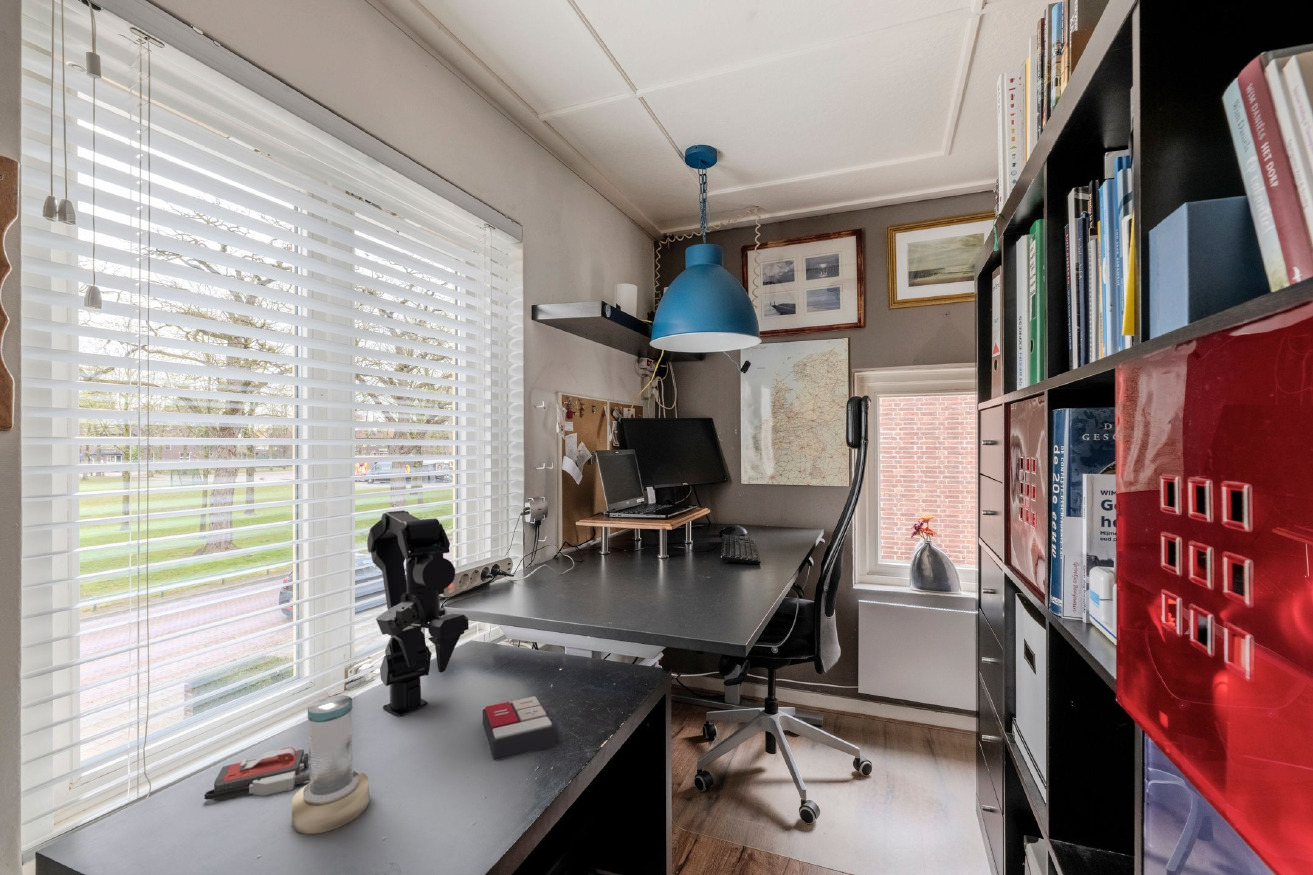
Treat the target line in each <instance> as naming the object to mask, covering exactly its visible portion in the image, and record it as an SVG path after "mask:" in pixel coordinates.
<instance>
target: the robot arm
mask: <svg viewBox="0 0 1313 875" xmlns="http://www.w3.org/2000/svg"><path fill="white" fill-rule="evenodd" d="M443 526H444V525H443V524H442V523H440V520H439V519H438V518H437V517H433V518H424V519H423V518H422V519H420V518H418V517H416V516H414V515H412V514H410V512H409V511H406V510H405V509H404V510H394V511H392V510H391V511H386V512H385V513H382V516H381V518H380V520H379V521H378V522H376V523H375V524H374V525H373V526H372V527H370V528H369V533H368V536H367V551H368V553H369V554H371V561H372V563H373V564H374V565H375V566H376V567H377V568H378V569H379V570H380V571H381V573H382V579H383V587H384V594H385V599H386V607H387V608H386V609H387V610H386V611H384V612H382V613H381V614H379V615H378V616H377V617H376V618H375V620H376V624H377V625H378V627H379V630H380V632H381V634H382V635H384V636H385V635H388V636H390V638H389V640H388V643H387V645H386V647H385V650H384V653H385V654H384V655H383V659H382V661H381V664H380V669H379V673H380V680H381V682H382V683H383V684H384V685H385V687H388V686H389V703H388V704H385V705H383V706H382V710H385V711H387V712H389V713H391V714H393V715H395V716H398V717H402V716H404V715H406V714H408V713H410V712H412V711H413V712H414V711H415V710H417V709H419V708H422V707H424V706H426V705H428V701H427V700H425V699H423V698H422V687H421V677H424V676H429V674H430V670H431V668H430V666H431V659H432V654H433V653H432V652H431V651H430V648H429V646H428V645H427V643H426V638H425V637H426V636H425V634H424V632H423V631H422V629H423V628H424V629H427V630H428V631H427V632H428V633H429V636H430V637H428V640H429V641H430V642H431V643H432V644H433V645H434V646H435V656H436V663H437V664H436V665H437V669H438V673H440V674H441V673H443V672H445V671H446V669H447V668H448V664H449V662H450V660H451V658H452V655H453V652H454V651H455V648H456V646H457V645H458V644H457V643H458V642H459V640H460V638H461V636H462V635H464V634H465V631H468V630H469V629H470V628H469V627H470V626H469V623H470V622H469V618H468V616H466V615H465V614H460V613H450V614H446V609H441V599H440V597H441V596H440V595H443V594H445V589H446V588H449V586H451V585H452V583H453V581H454V580H455V577H456V568H455V566H454V564H453V563H452V561H450V560H449V559H447V558H445V557H444V554H449V553H450V547H451V546H450V545H451V542H450V541H449V538H448V535H447V532H446V531H445V528H444V527H443ZM404 563H405V564H404Z"/></svg>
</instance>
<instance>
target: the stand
mask: <svg viewBox="0 0 1313 875" xmlns="http://www.w3.org/2000/svg"><path fill="white" fill-rule="evenodd" d="M355 771H356V772H357V773H358V775H359V785H358V787H357V788H356V790H355V791H354V792H353V793H351V794H350V795H348V796H347V797H345V798H343V799H341V800H339V801H337V802H334V803H331V804H327V805H320V806H312V805H308V804H306V803H305V802H304V799H303V791H304V788H305V787H306V785H304V786H302V788H300V789H299V790H298V791H297V792H296V793H295V795H293V797H292V800H291V825H292V829H294V831H296V832H297V833H301V834H305V835H306V834H307V835H314V834H322V833H325V832H329V831H333V830H335V829H336V830H337V829H339V828H340V827H342V826H345V825H347V824H349V823H351V822H352V821H354V820H355V819H357V818H358V817H359V816H361V815H362V813H363V812H364V811H365V810H366V809H367V807H368V805H369V803H370V781H369V777H368V775H367V774H366V773H364V772H362V771H357V770H355Z"/></svg>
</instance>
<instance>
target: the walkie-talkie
mask: <svg viewBox="0 0 1313 875" xmlns="http://www.w3.org/2000/svg"><path fill="white" fill-rule="evenodd" d="M306 767H309V752H306V753H305V749H298V750H295V748H293V747H291V746H289V747H285V748H281V749H276V750H270V751H266V752H264V753H262V754H261V755H260V756H258V757H257V758H256V759H255V758H254V759H250V760H248V758H243V759H242V761H240V762H237V763H232V764H228V765H225V766H222V768H221V769H220V771H219V773H218V774H217V776H216V778H215V780H214V783H213V789H210V790H208V791H206V792H205V793H204V797H203V798H204V800H208V801H209V800H213V799H214V801H224V800H226V799H229V798H230V799H231V798H233V797H234V798H235V797H239V796H242V795H244V796H245V795H247V794H252V795H255V796H262V797H265V796H270V795H273V794H278V793H282V792H286V791H288V792H289V791H293V790H294V789H295V786H296V785H300V784H303V783H304V782H308V781H309V782H310V774H309V773H305V774H304V772H302V771H303V770H304V768H306Z"/></svg>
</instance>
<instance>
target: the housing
mask: <svg viewBox="0 0 1313 875" xmlns="http://www.w3.org/2000/svg"><path fill="white" fill-rule="evenodd" d="M352 711H353V697H351V696H348V695H345V694H342V695H341V694H340V695H339V694H337V695H331V696H327V697H324V698H321V699H318V700H316V701H314V702H312V703H311V704H310V705H309V706H308V707H307V720H308V755H309V761H308V768H309V773H308V774H310V780H309V782H308V783H307V784H306V785H305V786H306V787H305V788H304V791H303V799H304V802H305V803H306V804H308V805H312V806H320V805H327V804H331V803H334V802H337V801H339V800H341V799H343V798H345V797H347V796H348V795H350V794H351V793H353V792H354V791H355V790H356V788H357V787H358V785H359V775H358V773H357V772H356V771H357V770H354V769H353V723H352V722H353V721H352V720H353V718H352V717H353V716H352V714H353V713H352Z"/></svg>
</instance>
